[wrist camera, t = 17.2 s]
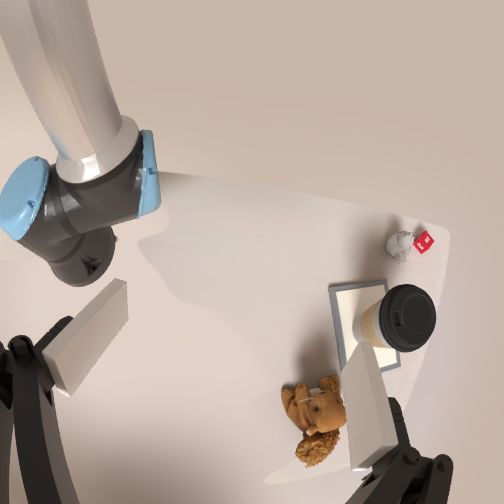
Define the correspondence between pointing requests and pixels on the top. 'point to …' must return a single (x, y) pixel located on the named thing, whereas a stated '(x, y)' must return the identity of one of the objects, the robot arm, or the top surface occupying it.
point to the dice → (423, 242)
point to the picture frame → (345, 312)
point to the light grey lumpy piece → (400, 245)
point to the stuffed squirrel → (316, 418)
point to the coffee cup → (398, 320)
